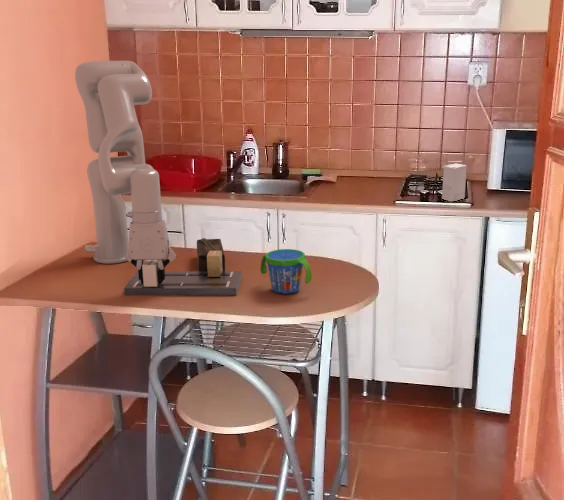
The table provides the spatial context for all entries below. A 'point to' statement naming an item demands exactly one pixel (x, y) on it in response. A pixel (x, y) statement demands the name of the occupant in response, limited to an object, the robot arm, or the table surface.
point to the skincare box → (454, 182)
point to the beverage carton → (203, 250)
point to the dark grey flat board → (188, 284)
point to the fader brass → (214, 263)
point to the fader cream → (150, 273)
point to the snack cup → (286, 269)
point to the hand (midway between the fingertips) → (152, 281)
